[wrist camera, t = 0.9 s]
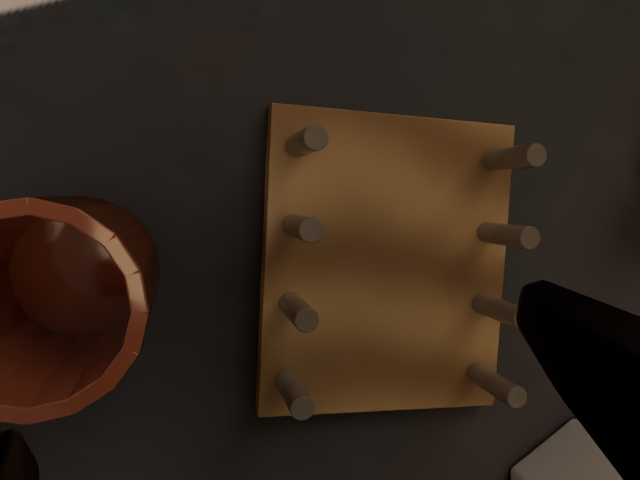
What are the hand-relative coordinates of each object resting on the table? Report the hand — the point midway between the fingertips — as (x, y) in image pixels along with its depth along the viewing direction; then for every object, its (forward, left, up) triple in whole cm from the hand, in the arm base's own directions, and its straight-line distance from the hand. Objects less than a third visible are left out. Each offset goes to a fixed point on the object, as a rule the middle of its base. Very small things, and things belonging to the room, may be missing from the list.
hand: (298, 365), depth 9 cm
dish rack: (+4, -6, -15) cm, 17 cm away
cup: (-4, +5, -15) cm, 17 cm away
